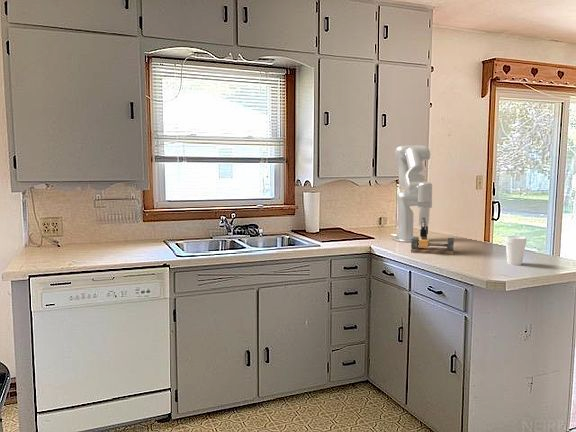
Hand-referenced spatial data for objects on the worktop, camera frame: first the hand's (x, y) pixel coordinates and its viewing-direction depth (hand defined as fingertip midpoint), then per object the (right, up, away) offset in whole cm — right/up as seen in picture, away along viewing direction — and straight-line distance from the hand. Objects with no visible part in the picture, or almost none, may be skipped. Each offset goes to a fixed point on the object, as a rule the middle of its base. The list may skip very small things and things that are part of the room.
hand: (424, 235), depth 266 cm
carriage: (0, -6, +1) cm, 6 cm away
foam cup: (+34, -13, -35) cm, 50 cm away
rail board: (+4, -9, -1) cm, 10 cm away
